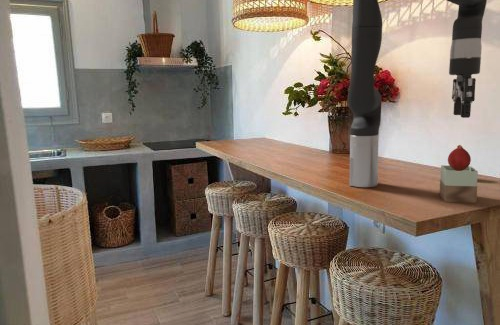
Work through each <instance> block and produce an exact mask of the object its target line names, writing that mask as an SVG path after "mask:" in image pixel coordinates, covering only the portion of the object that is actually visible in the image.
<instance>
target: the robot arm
mask: <svg viewBox="0 0 500 325" xmlns="http://www.w3.org/2000/svg"><path fill="white" fill-rule="evenodd" d="M487 1H488V0H446V2H449V3H452V4H455V5H457V6H458V12H457V17H456V19H455V20H454V22H453V25H452V31H451V32H452V33H451V34H452V35H451V36H452V38H451V45H450V51H449V66H448V67H449V68H448V75H450V76H456V78H453V80H452V93H451V94H452V95H451V99H452V102H453V113H452V114H453V116H460V117H461V118H463V119H466V118H470V117H471V111H472V109H471V108H472V104H473V102H475V98H476V97H475V96H476V94H475V93H476V81H477V80H476V78H475V77H472V75H478V74H480V73H481V60H482V36H483V32H482V31H483V20H484V16H485V12H486V11H485V10H486V7H487ZM382 38H383V16H382V12H381V8H380V4H379V1H378V0H352V24H351V50H350V51H351V56H350V58H351V59H350V61H351V64H350V65H351V67H350V69H351V70H350V78H349V79H350V80H349V86H348V94H347V105H348V109H350V111H351V112H352V113H353V119H352V123H351V125H350V129H349V187H356V188H357V187H358V188H374V187H377V186H378V184H379V183H378V180H379V179H378V178H379V176H378V175H379V142H380V141H379V140H380V139H379V138H380V137H379V133H380V132H379V131H380V126H381V123H382V122H381V121H382V120H381V118H382V96H381V93H380V91H379V90H378V89H377V88H376V87H375V68H376V64H377V60H378V58H379V54H380V51H381V47H382V41H383V40H382Z"/></svg>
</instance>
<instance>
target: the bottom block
mask: <svg viewBox="0 0 500 325" xmlns="http://www.w3.org/2000/svg"><path fill="white" fill-rule="evenodd" d="M439 196H440V197H441V198H442V200H443V201H444V202H446V203H466V204H467V203H471V204H475V203H477V199H478V185H477V186H447V185H444V183H443V182H442V180H441V179H439Z"/></svg>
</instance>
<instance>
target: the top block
mask: <svg viewBox="0 0 500 325" xmlns="http://www.w3.org/2000/svg"><path fill="white" fill-rule="evenodd" d="M478 174H479V172H478V170H476V169H475V168H474V167H473V166H472V165H469V166H468V167H467V168H466V169H464V170H463V171H455V170H454V169H453V168H452V167H451V166H450V165H443V164H442V165H441V166H440V179H441V180H442V182H443V183H444V185H447V186H477V187H478ZM440 179H439V180H440Z"/></svg>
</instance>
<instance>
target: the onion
mask: <svg viewBox="0 0 500 325" xmlns="http://www.w3.org/2000/svg"><path fill="white" fill-rule="evenodd" d="M471 161H472V159H471V155H470V153H469V152H468V150H466V149H465V148H464V147H463V146H462V145H461V144H459V145H457V146H456V147H455V149H453V150H452V151H451V152H449V155H448V156H447V163H448V166H451V167H452V168H453V169H454V170H455V171H463V170H464V169H466V168H467V167H468V166H471Z"/></svg>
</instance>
